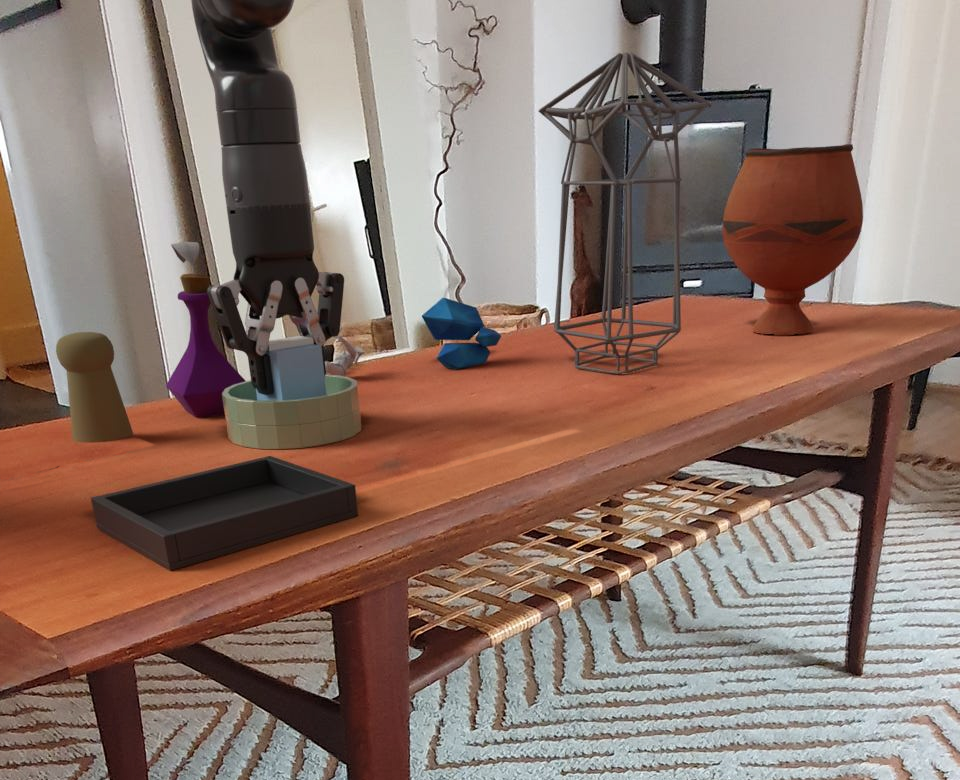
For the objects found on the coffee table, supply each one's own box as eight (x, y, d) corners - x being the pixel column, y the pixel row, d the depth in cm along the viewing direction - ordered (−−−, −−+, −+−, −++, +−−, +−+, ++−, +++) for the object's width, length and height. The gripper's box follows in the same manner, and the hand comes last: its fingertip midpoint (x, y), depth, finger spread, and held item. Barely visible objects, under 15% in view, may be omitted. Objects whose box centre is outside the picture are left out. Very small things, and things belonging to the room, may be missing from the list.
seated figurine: (284, 399, 119) (317, 352, 127) (317, 424, 121) (347, 375, 129) (315, 358, 114) (346, 311, 122) (348, 384, 116) (377, 336, 124)
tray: (170, 571, 66) (163, 536, 64) (97, 528, 74) (90, 497, 73) (358, 515, 75) (355, 484, 74) (274, 483, 83) (270, 455, 82)
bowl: (273, 462, 90) (266, 408, 87) (206, 439, 99) (198, 389, 96) (387, 435, 97) (383, 384, 95) (315, 415, 106) (310, 369, 104)
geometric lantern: (531, 368, 126) (528, 57, 111) (612, 351, 135) (619, 61, 120) (623, 384, 115) (634, 41, 100) (704, 364, 125) (725, 48, 109)
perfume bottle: (255, 416, 107) (231, 241, 99) (188, 426, 104) (157, 246, 96) (234, 404, 113) (210, 238, 105) (170, 414, 110) (140, 243, 102)
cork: (60, 452, 96) (33, 337, 91) (98, 437, 101) (75, 328, 96) (111, 455, 94) (87, 338, 89) (148, 439, 99) (127, 328, 94)
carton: (287, 441, 95) (275, 346, 91) (261, 432, 98) (249, 341, 94) (330, 431, 97) (320, 339, 94) (303, 423, 101) (293, 334, 97)
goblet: (696, 326, 153) (706, 150, 142) (809, 319, 156) (828, 145, 145) (747, 345, 136) (764, 146, 125) (873, 336, 139) (900, 141, 128)
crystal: (515, 308, 128) (447, 296, 120) (506, 375, 131) (439, 368, 123) (478, 304, 133) (410, 292, 125) (470, 369, 136) (403, 361, 128)
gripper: (312, 197, 95) (329, 373, 103) (176, 205, 87) (206, 396, 94) (356, 196, 90) (371, 382, 97) (216, 205, 82) (245, 407, 89)
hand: (290, 388), depth 96 cm, fingers closed on carton, 5 cm apart
